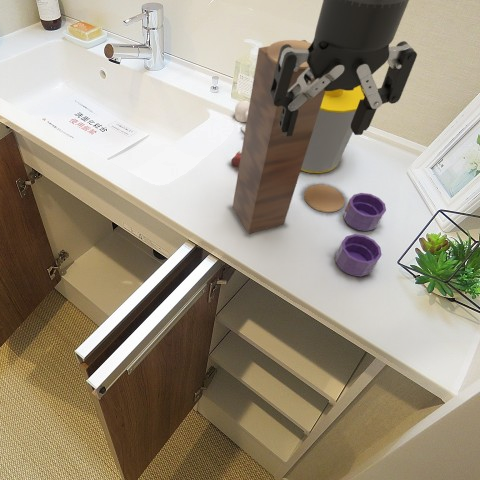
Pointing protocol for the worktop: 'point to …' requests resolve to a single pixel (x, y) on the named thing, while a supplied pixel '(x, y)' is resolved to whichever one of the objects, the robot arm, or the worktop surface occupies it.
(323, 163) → the soap bottle
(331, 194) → the coaster back
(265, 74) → the walnut stand
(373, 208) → the purple cup
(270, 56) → the coaster top
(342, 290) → the worktop surface
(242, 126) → the rivet
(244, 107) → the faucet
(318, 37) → the robot arm
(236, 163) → the dental model
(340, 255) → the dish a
